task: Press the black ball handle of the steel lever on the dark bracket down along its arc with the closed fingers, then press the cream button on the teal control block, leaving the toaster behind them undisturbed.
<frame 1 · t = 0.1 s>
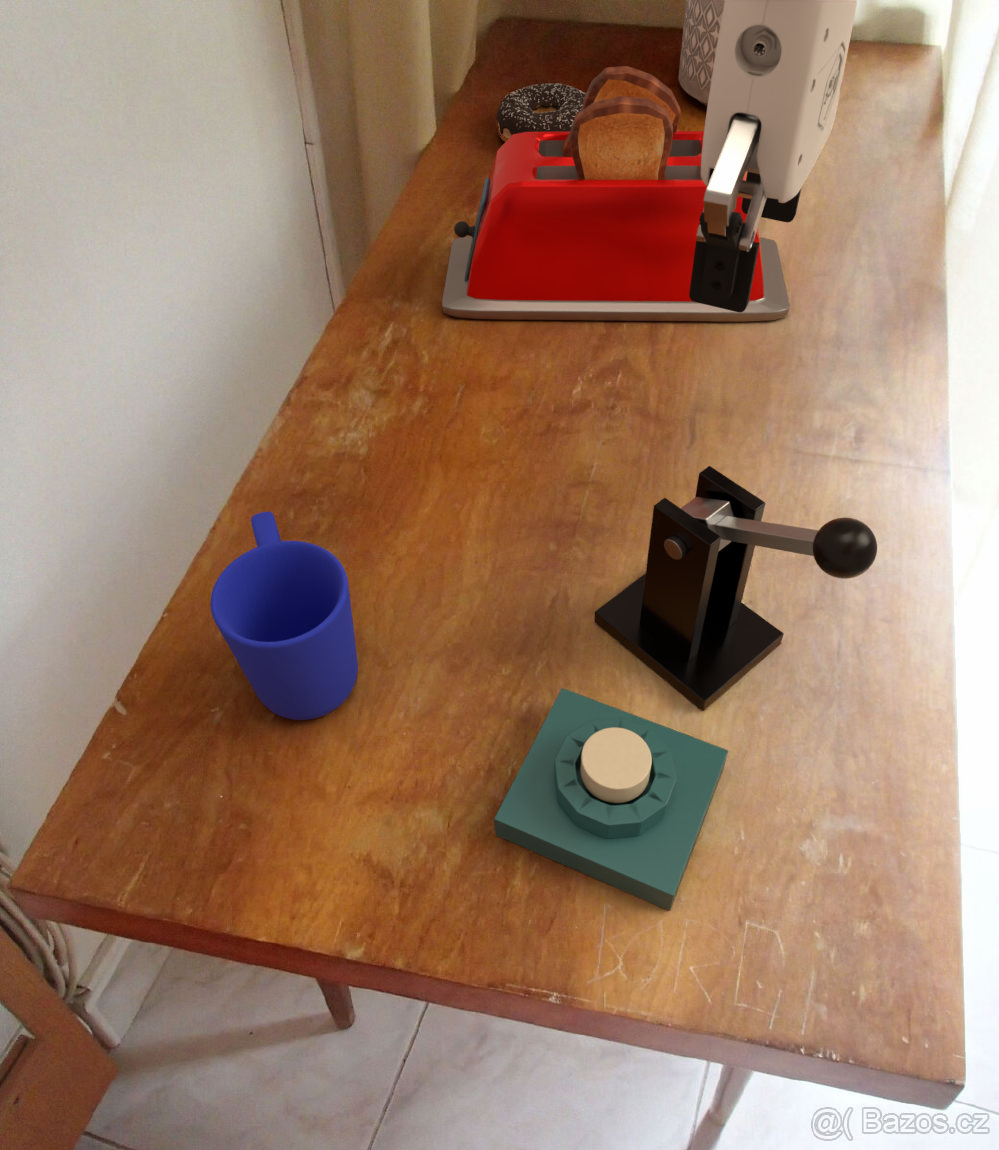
hand: (743, 258, 57), 23 cm above the table, tool pointing down, fingers open, 9 cm apart
lever: (771, 535, 56), point 14 cm above the table, hinge at 30.0°
planter: (745, 91, 120), on the table
toaster: (612, 284, 95), on the table
donut: (546, 135, 115), on the table
mug: (304, 663, 68), on the table
button block: (611, 800, 60), on the table
button: (615, 764, 57), point 4 cm above the table, slide at 0.1 cm
bracket: (686, 632, 68), on the table
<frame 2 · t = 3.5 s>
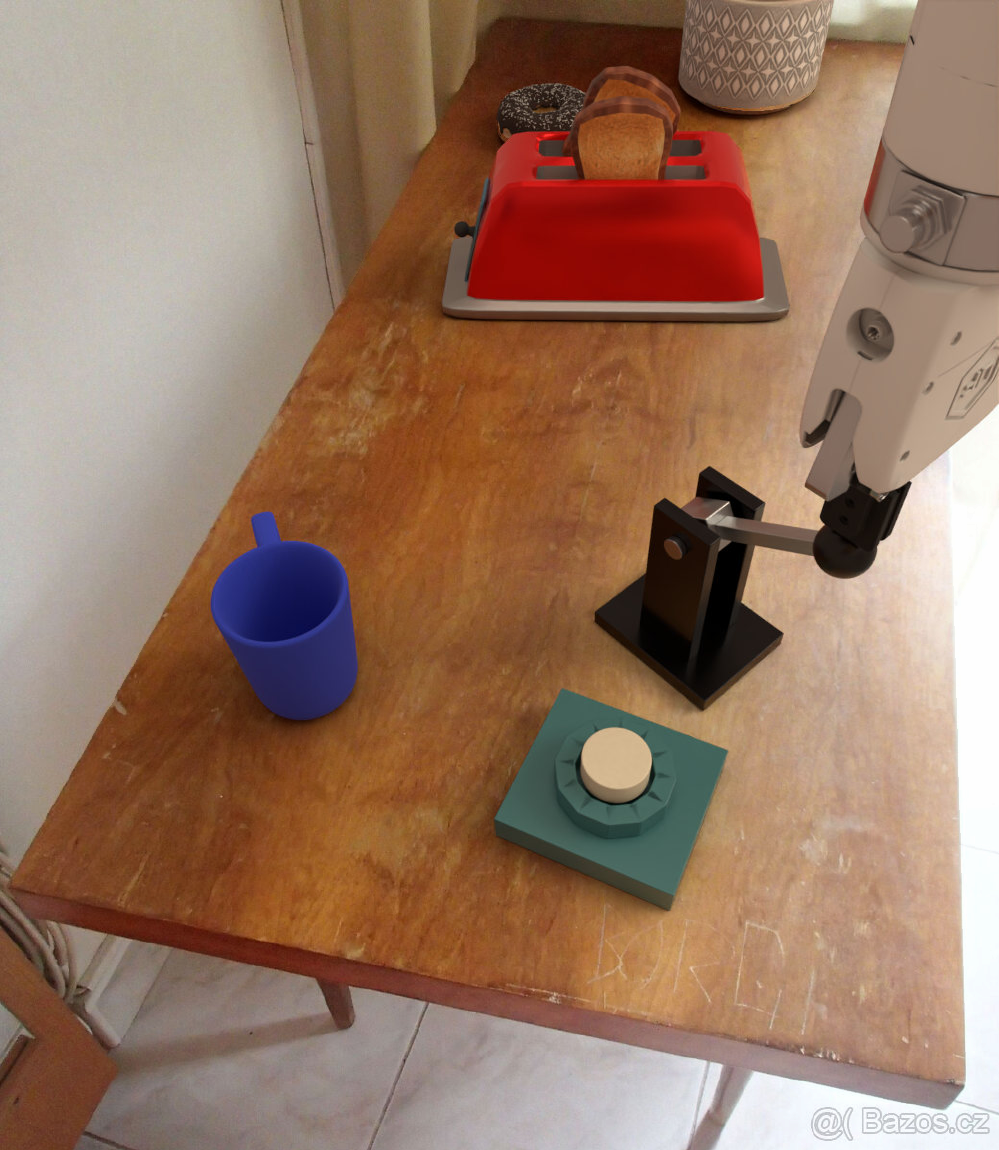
hand: (853, 528, 50), 18 cm above the table, tool pointing down, fingers closed
lever: (771, 535, 56), point 14 cm above the table, hinge at 29.9°, touching gripper
everything else where it was.
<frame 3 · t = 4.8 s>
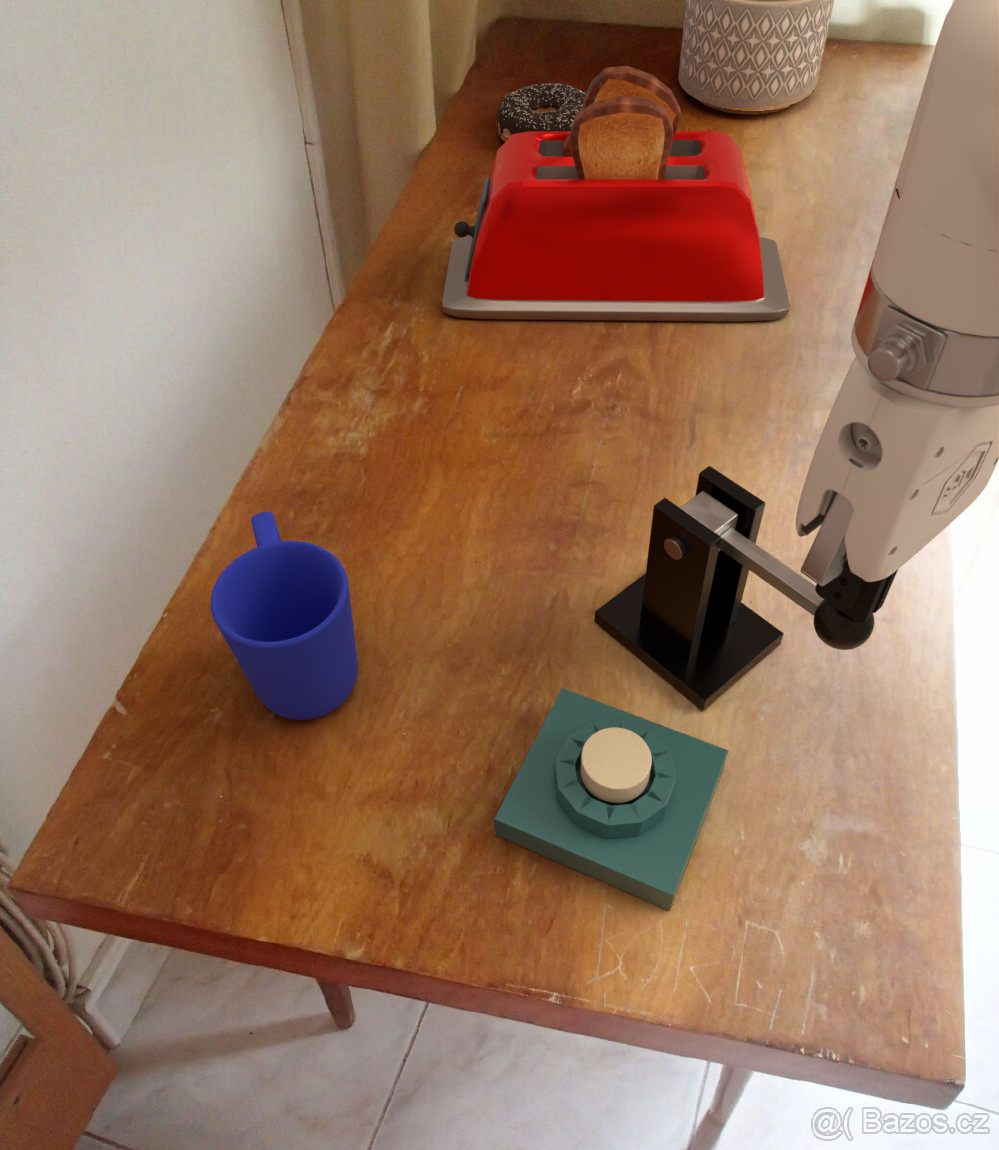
hand: (846, 600, 54), 13 cm above the table, tool pointing down, fingers closed
lever: (773, 571, 57), point 11 cm above the table, hinge at -0.2°, touching gripper
everything else where it was.
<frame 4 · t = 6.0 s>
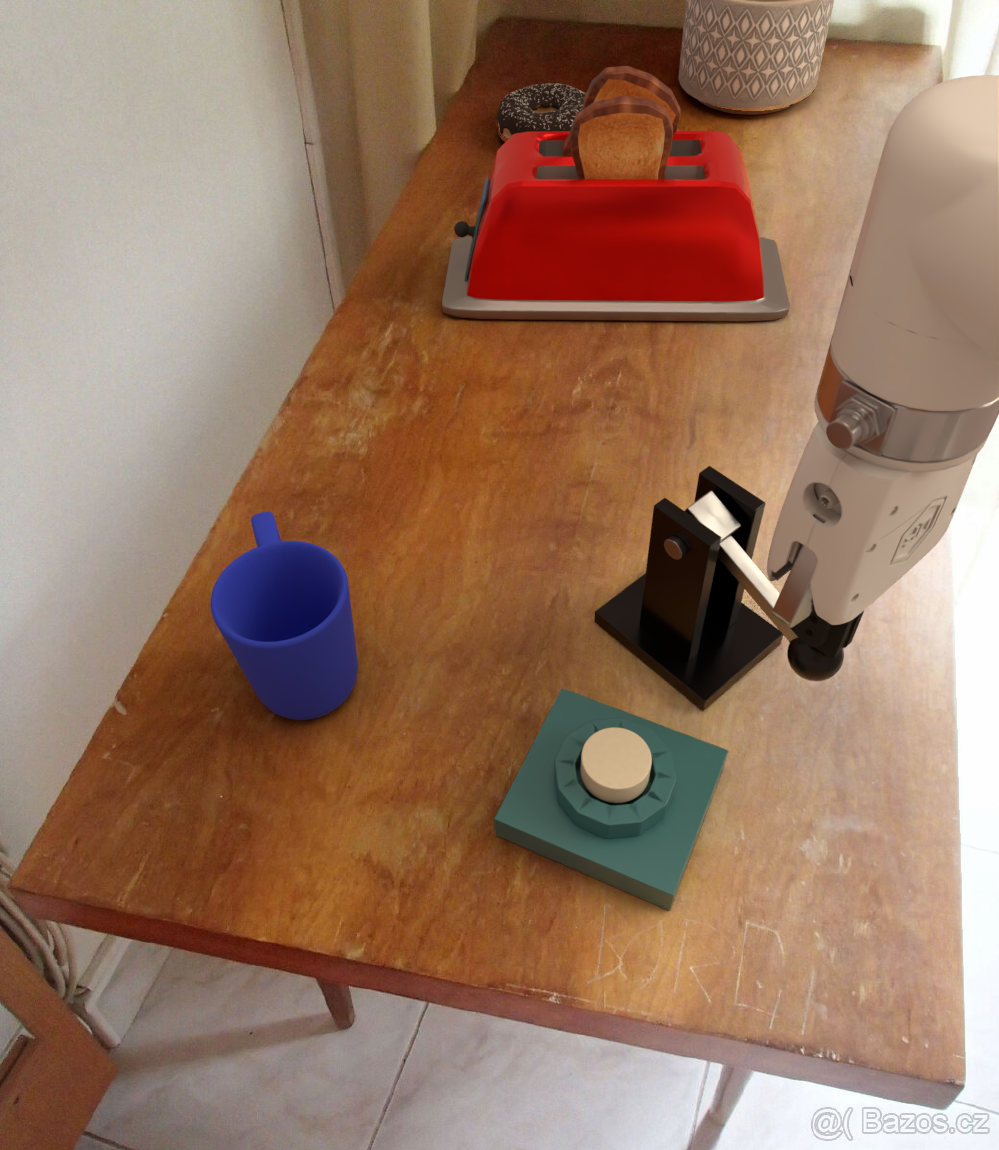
hand: (818, 636, 57), 9 cm above the table, tool pointing down, fingers closed
lever: (761, 589, 59), point 9 cm above the table, hinge at -24.1°, touching gripper
everything else where it was.
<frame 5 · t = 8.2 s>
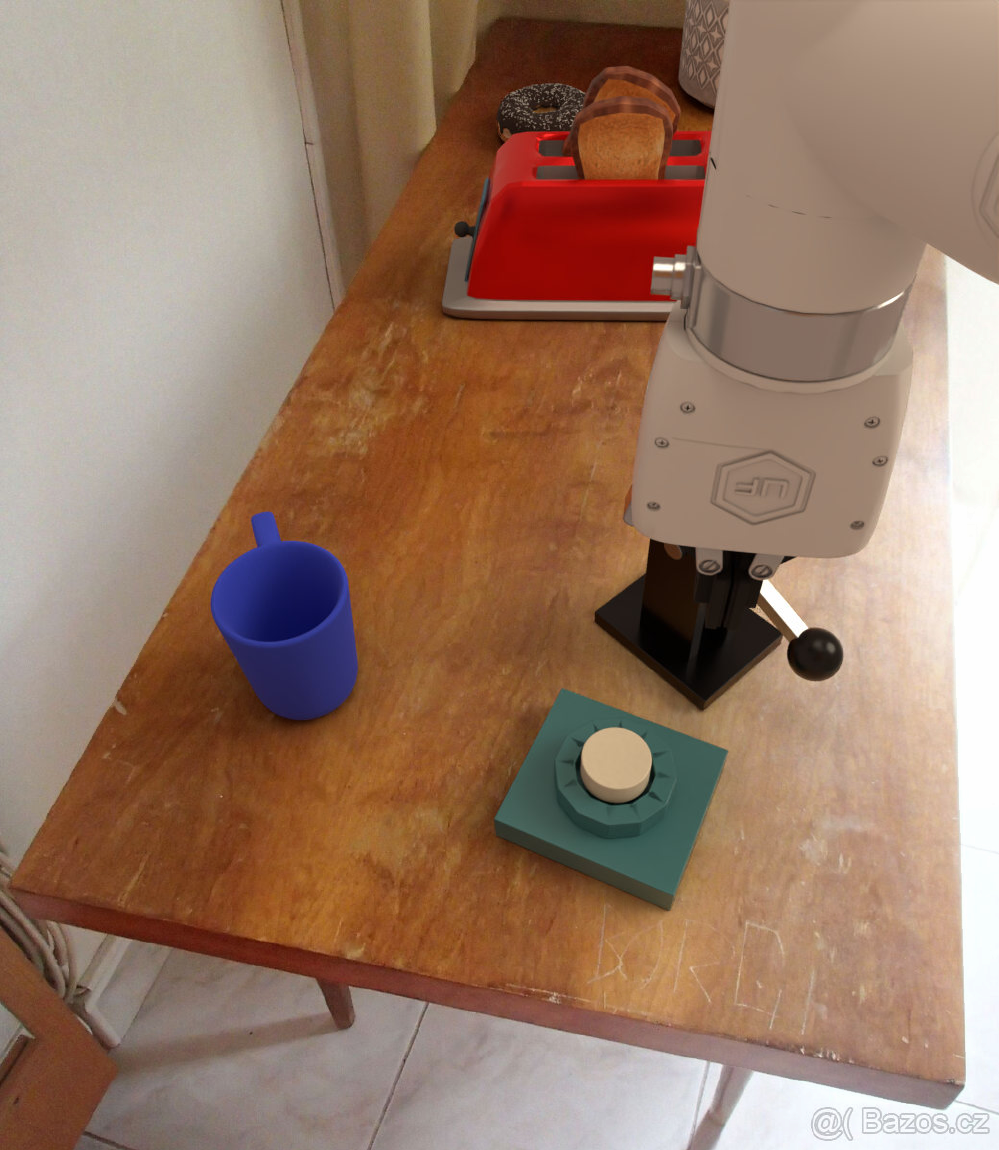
hand: (721, 606, 50), 16 cm above the table, tool pointing down, fingers closed
lever: (760, 589, 59), point 9 cm above the table, hinge at -24.4°
everything else where it was.
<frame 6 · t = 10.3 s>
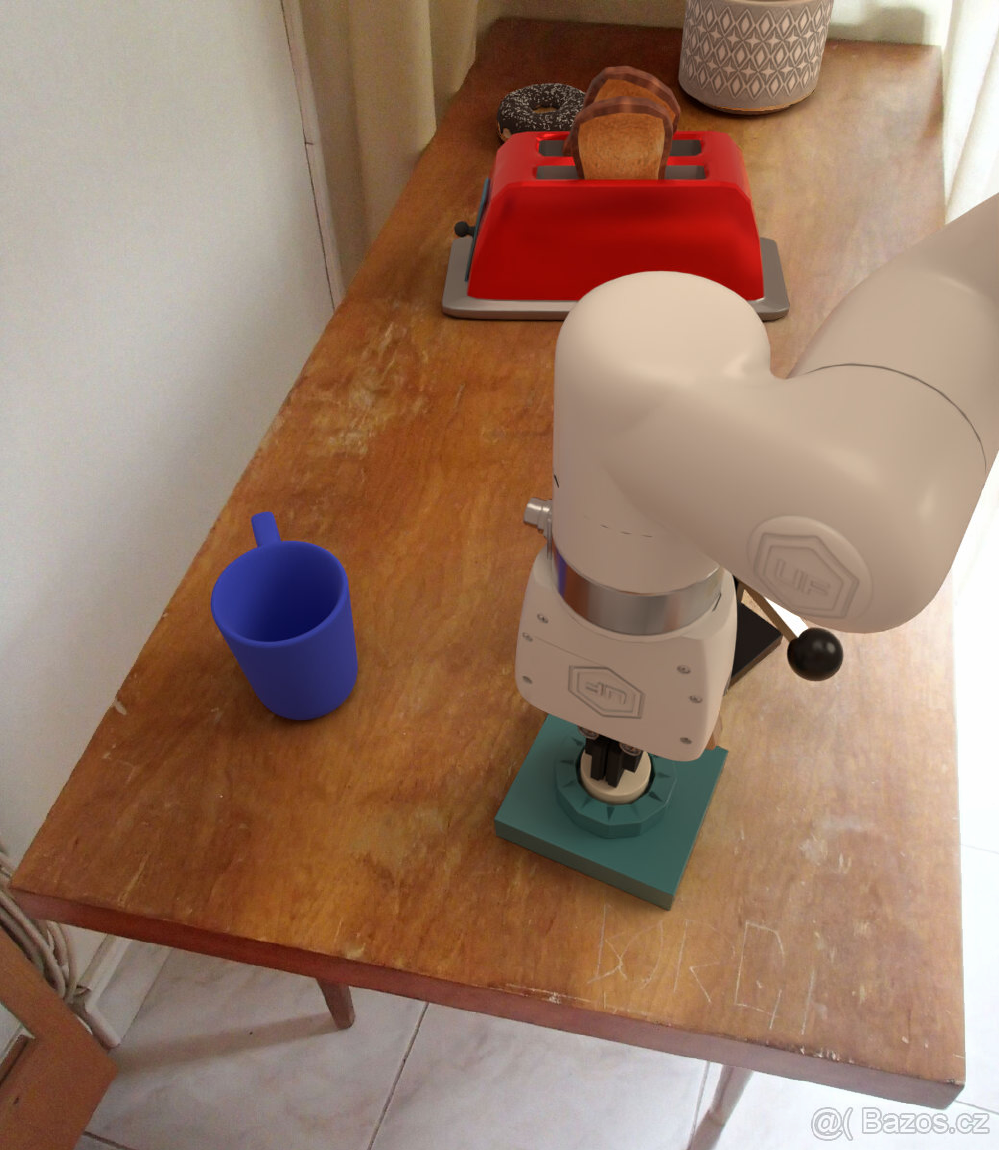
hand: (613, 762, 57), 5 cm above the table, tool pointing down, fingers closed
button: (614, 771, 57), point 4 cm above the table, slide at -0.7 cm, touching gripper
everything else where it was.
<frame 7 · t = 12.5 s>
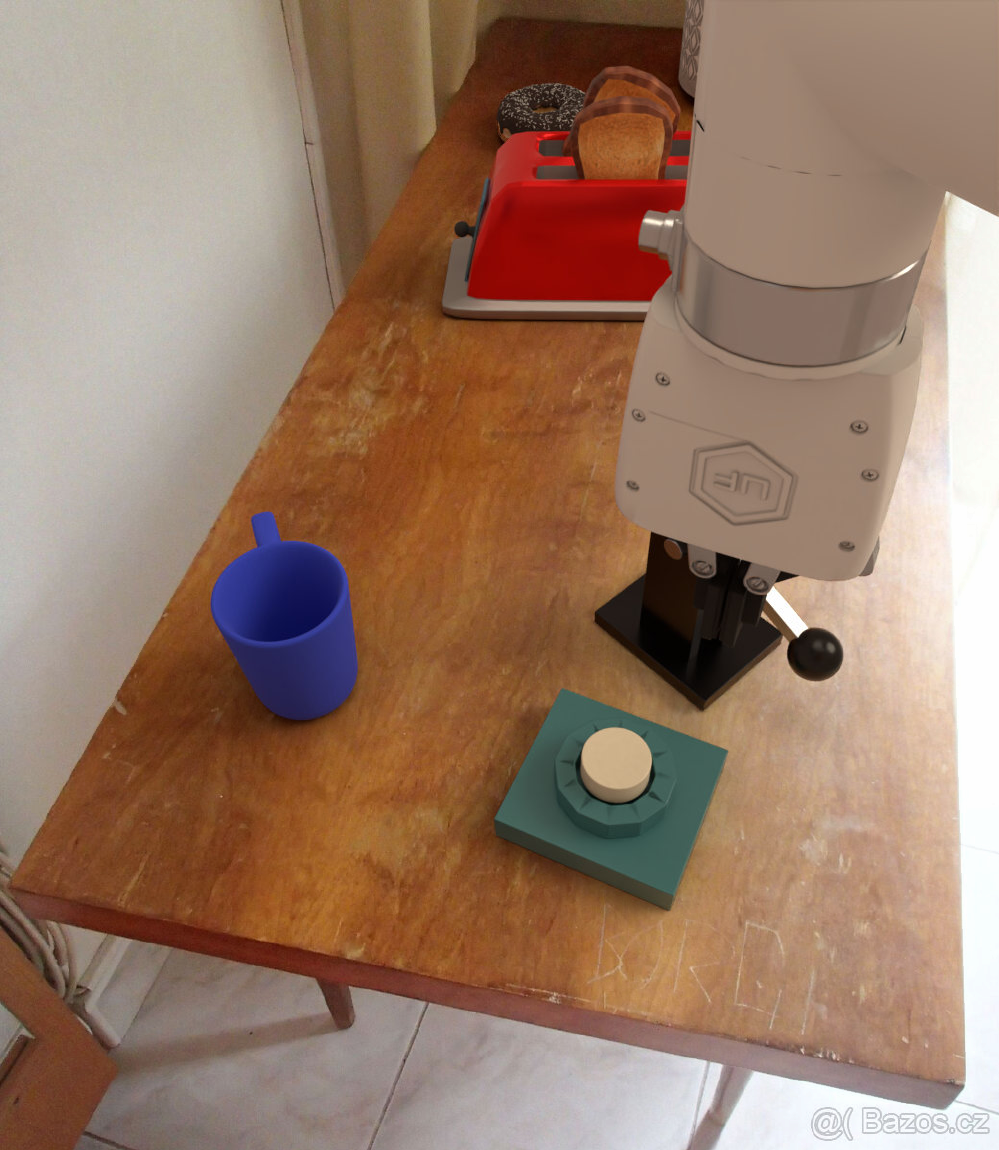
hand: (725, 619, 46), 18 cm above the table, tool pointing down, fingers closed
button: (615, 764, 57), point 4 cm above the table, slide at 0.1 cm
everything else where it was.
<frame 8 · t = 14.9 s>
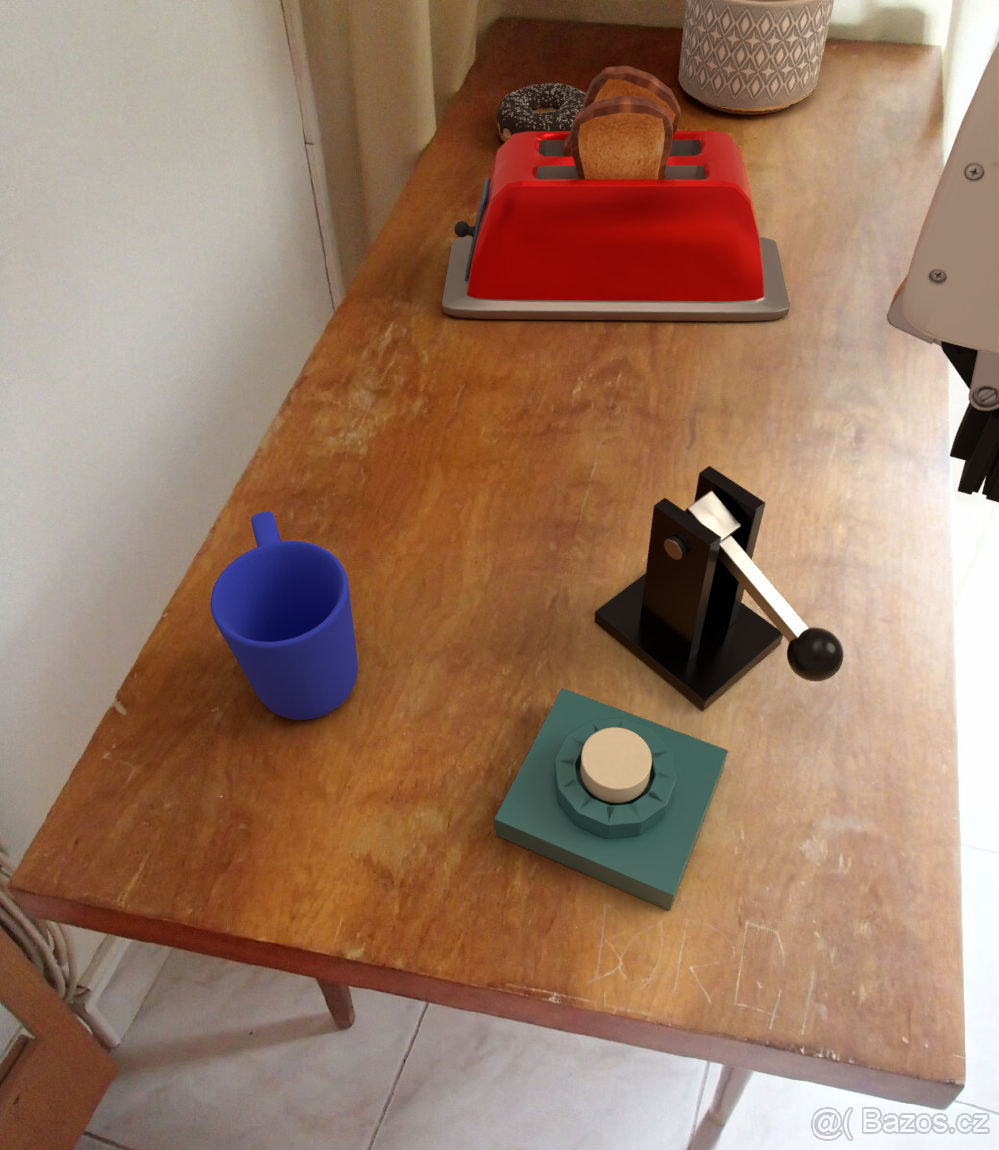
hand: (983, 473, 39), 27 cm above the table, tool pointing down, fingers closed
nothing on the table moved.
at the end: lever at -24° (first picture: +30°); button pushed in 1.1 cm at the most during the clip, back to where it started at the end; toaster moved 0.2 cm from its start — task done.
